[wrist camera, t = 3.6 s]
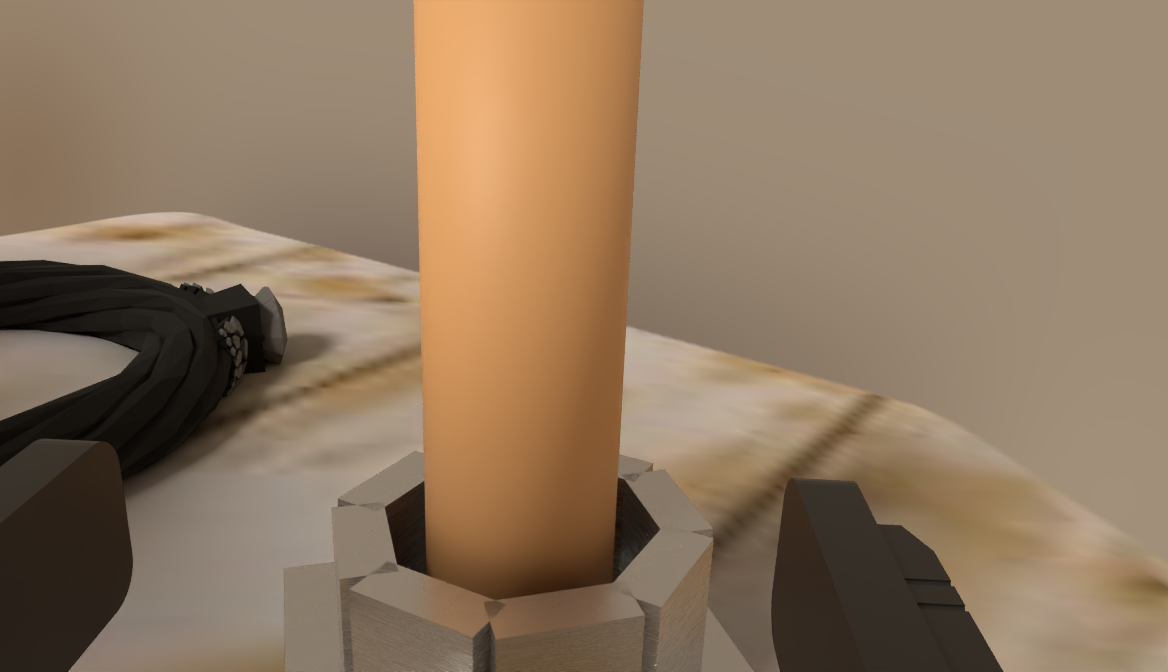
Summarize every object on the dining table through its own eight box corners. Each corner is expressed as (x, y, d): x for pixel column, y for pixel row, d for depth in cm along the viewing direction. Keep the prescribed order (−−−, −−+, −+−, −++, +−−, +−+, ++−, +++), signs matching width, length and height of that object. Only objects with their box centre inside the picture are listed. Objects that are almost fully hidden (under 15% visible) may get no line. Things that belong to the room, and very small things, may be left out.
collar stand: (293, 948, 17) (272, 726, 15) (286, 598, 27) (273, 440, 25) (826, 819, 20) (858, 623, 19) (645, 548, 30) (655, 405, 28)
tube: (444, 740, 21) (431, -45, 15) (417, 620, 25) (399, -37, 19) (632, 704, 22) (681, -32, 17) (577, 596, 26) (603, -28, 21)
